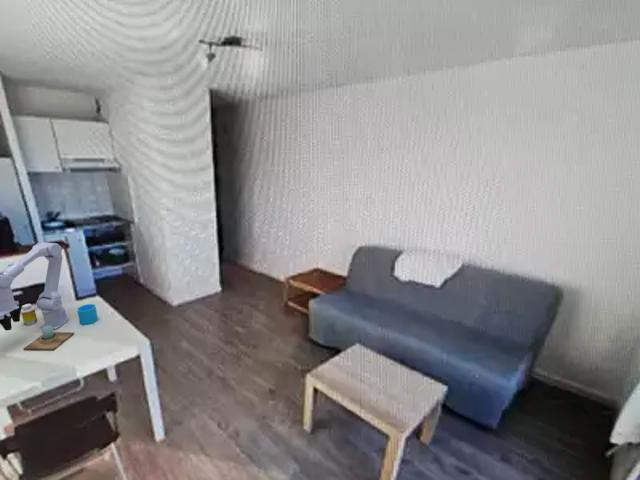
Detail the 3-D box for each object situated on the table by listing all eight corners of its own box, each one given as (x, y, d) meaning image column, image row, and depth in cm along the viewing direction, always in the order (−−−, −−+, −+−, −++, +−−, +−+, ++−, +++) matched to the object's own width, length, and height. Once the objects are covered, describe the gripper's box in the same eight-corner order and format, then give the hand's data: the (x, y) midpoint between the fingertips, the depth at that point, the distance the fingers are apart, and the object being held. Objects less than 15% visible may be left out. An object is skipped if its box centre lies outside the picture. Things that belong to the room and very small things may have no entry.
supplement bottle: (37, 323, 186) (33, 305, 183) (24, 326, 183) (19, 309, 180) (37, 319, 190) (33, 301, 187) (24, 322, 187) (19, 305, 184)
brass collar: (47, 336, 173) (47, 332, 173) (61, 336, 173) (60, 332, 172) (37, 344, 167) (36, 340, 166) (51, 344, 167) (50, 340, 166)
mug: (99, 321, 189) (97, 308, 186) (81, 327, 183) (78, 313, 181) (94, 313, 197) (91, 300, 195) (77, 318, 192) (74, 304, 189)
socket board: (46, 333, 177) (46, 331, 177) (74, 334, 177) (73, 332, 176) (23, 350, 164) (23, 348, 163) (53, 350, 163) (53, 349, 163)
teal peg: (48, 337, 172) (45, 325, 170) (56, 337, 172) (53, 325, 170) (42, 342, 168) (38, 329, 166) (50, 342, 168) (47, 329, 166)
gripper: (7, 305, 155) (15, 332, 159) (23, 291, 168) (30, 316, 172) (-13, 307, 153) (-4, 334, 157) (5, 293, 166) (12, 318, 170)
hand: (12, 325), depth 164 cm, fingers open, 7 cm apart
